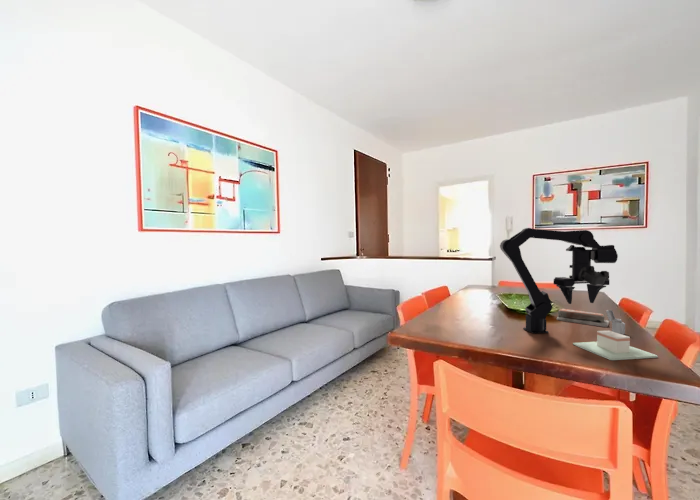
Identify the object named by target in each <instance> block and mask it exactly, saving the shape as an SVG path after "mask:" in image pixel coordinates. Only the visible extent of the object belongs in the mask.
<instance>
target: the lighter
mask: <svg viewBox="0 0 700 500" xmlns="http://www.w3.org/2000/svg"><path fill="white" fill-rule="evenodd" d="M605 313H606V316H607V318H608V319H607V320H609V322H611V331H613V332H616V333H619V334H622V335H626V322H623V321H622V319H621V318H616V316H615V313H614V311H613V310H612V309H607V310H605Z"/></svg>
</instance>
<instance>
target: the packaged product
mask: <svg viewBox="0 0 700 500" xmlns="http://www.w3.org/2000/svg"><path fill="white" fill-rule="evenodd" d="M556 321H560V322H561V321H562V322H568V323H573V324H580V325H581V324H582V325H589V326H597V327H604V328H605V327H606V328H607V327H608V326H609V325H610V321H609V319H606V320H605V314H603V313H599V312H598V313H597V312H590V311H583V310H576V309H567V308H560V309H558V310H557V316H556Z"/></svg>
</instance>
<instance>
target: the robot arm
mask: <svg viewBox="0 0 700 500" xmlns="http://www.w3.org/2000/svg"><path fill="white" fill-rule="evenodd" d="M594 237H595V236H594V233H593V232H592V231H590V230H587V229H581V230H580V229H579V230H564V231H562V230H551V229H539V228H532V227H524V228H522V230H521V231H518V232H517V233H516V234H515V235H513V236H511V237H510V238H508V239H507V238H506V239H504V240H502V241H501V242H500V244H499V248H500V250H501V252H502V253H503V254H504V256H506V258H507V259H509V261H510V262H511V263H512V265H513V268H514V269H515V271H516V273H517V274H518V276H519V278H520V280H521V282H522V284H523V285H524V287H525V289H526V291H527V293H528V298H529V301H530V303H529V304H528V305H527V306H526V307H525V308H524V310H525V312H526V314H525V327H523V328H522V329H523V330H525V331H527V332H529V333H531V334H549V330H547V316H548V314H549V313H551V312H552V309H553V303H554V302H553V301H551V299H550V296H549V294H548V292H545V291H544V290H542V291H541V290H540V288H539V287H538V285H537V283H536V281H535V280H534V278H533V275H532V274H531V272H530V271H529V269H528V267H527V265H526V263H525V261H524V260H523V258H522V253H521V248H520V247H521V246H522V245H523V244H524V243H525V242H527V241H528V240H529V239H541V240H552V241H560V242H565V243H568V244H570V245H569V247H567V248H566V249H565V251H566V252H572V255H571V258H572V259H571V260H572V264H569V269H571V275H569V277H566V276H557V277H556V276H555V277H554V278H553V285H555V286H556V287H558V288H559V289H560V291H561V292H562V294H563V296H564V298H565V300H566V302H567V303H568V304H569V305H571V304H572V302H573V301H572V300H573V291H574V290H575V288H576V287H575V284H579V285H580V284H586V289H587V294H588V300H589V303H590V304H594V302H595V300H596V298H597V296H598V294H599V292H600V291H601V290H602V289H604V288H606V287H607V286H610V272H609V271H607V270H601V271H597V270H595V267H594V265H592V261H593V262H594V263H595V264H615V263H616V262H617V261H618V257H619V255H618V253H617V252H618V251H617V250H616V248H615V245H614V244H607V245H600V243H599V242H597V240H596V239H595V238H594ZM575 245H576V246H575ZM587 248H588V249H587Z"/></svg>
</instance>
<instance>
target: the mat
mask: <svg viewBox="0 0 700 500" xmlns="http://www.w3.org/2000/svg"><path fill="white" fill-rule="evenodd" d="M572 345H573V346H576V347H578V348H580V349H583V350H585V351H587V352H590V353H592V354H594V355H597V356H599V357H601V358H605V359H608V360H609V361H623V360H635V359H636V360H639V359H640V360H641V359H654V358H659V357H658V355H657V354H654V353H651V352H649V351H646V350H643V349H640V348H637V347H635V346H631V345H630V352H628V353H615V352H612V351H610V350H607V349H605V348H602V347H599V346H597V341H586V342H585V341H584V342H583V341H582V342H580V341H579V342H572Z"/></svg>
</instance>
